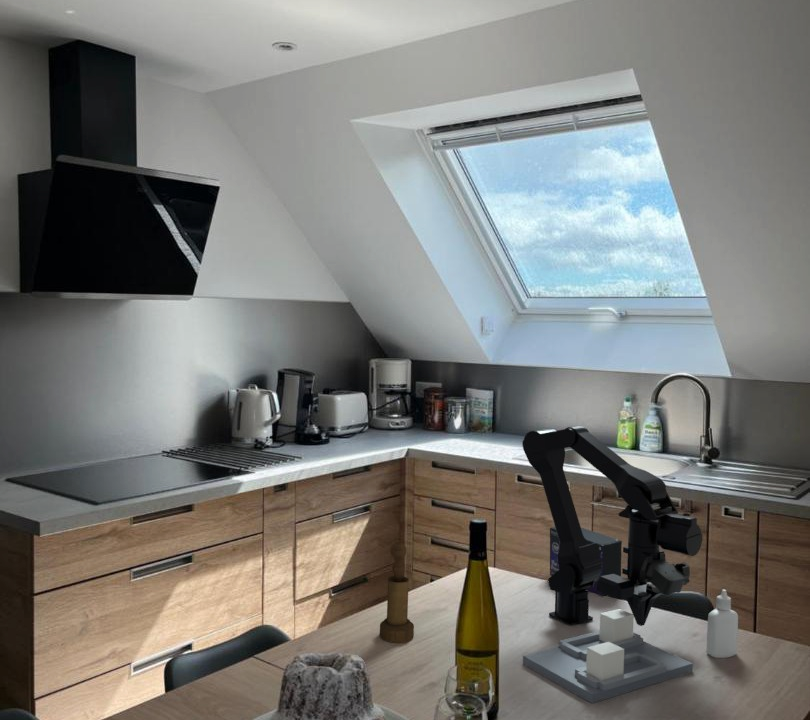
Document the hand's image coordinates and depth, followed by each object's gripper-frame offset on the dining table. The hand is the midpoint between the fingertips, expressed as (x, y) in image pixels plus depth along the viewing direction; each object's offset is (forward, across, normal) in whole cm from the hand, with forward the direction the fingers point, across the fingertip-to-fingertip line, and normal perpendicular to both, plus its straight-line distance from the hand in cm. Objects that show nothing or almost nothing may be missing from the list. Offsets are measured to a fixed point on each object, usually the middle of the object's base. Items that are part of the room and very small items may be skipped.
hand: (640, 625), depth 158 cm
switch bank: (+3, -14, -5) cm, 15 cm away
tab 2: (+2, -20, -10) cm, 23 cm away
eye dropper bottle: (+4, +9, -11) cm, 15 cm away
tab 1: (+2, -6, 0) cm, 7 cm away
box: (+4, +15, +31) cm, 34 cm away
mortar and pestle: (+4, -39, +25) cm, 46 cm away
